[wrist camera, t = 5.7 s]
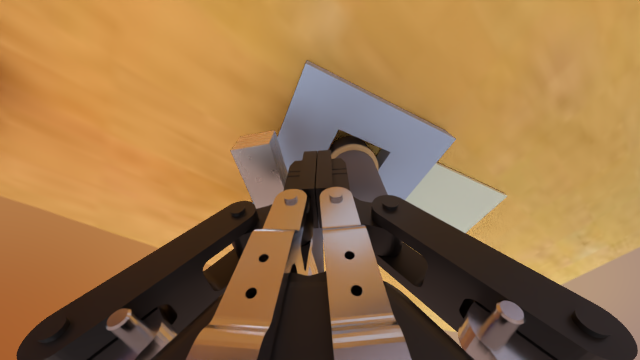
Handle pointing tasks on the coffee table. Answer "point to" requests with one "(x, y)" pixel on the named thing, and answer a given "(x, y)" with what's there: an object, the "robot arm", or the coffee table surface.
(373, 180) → the plug
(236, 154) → the clip
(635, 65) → the coffee table surface
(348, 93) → the plate
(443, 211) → the pad
